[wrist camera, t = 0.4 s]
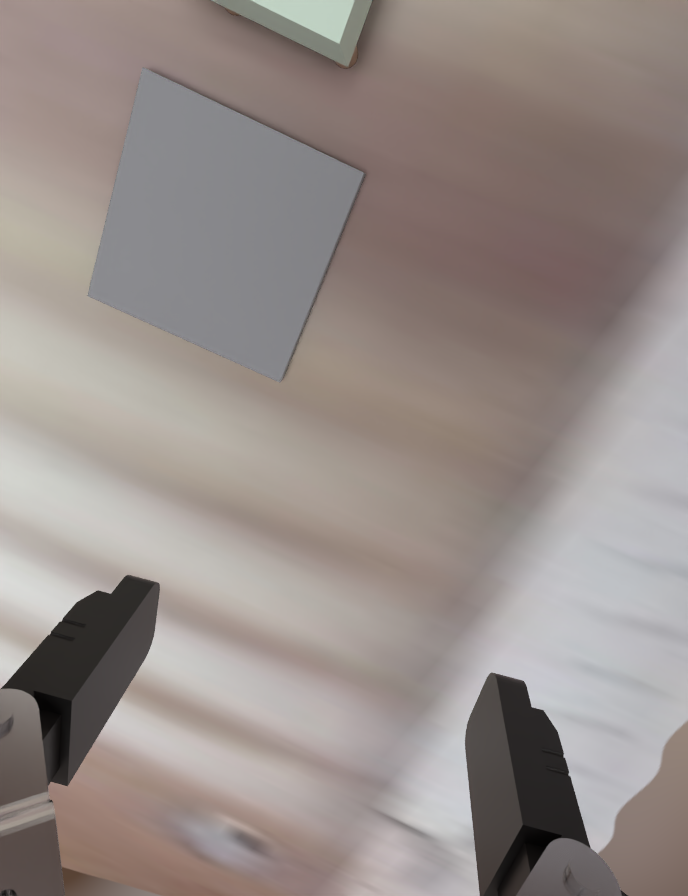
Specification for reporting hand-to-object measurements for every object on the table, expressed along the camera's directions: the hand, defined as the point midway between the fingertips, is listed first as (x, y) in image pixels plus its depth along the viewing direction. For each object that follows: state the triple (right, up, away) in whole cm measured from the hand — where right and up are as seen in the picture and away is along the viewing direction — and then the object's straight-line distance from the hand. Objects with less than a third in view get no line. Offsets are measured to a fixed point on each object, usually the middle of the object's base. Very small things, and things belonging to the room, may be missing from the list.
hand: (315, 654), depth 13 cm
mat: (-7, +18, +23) cm, 31 cm away
